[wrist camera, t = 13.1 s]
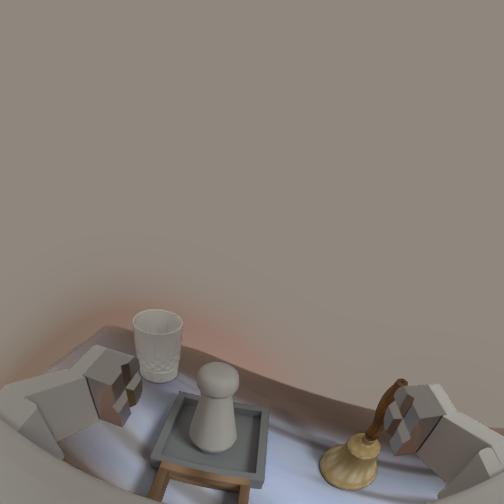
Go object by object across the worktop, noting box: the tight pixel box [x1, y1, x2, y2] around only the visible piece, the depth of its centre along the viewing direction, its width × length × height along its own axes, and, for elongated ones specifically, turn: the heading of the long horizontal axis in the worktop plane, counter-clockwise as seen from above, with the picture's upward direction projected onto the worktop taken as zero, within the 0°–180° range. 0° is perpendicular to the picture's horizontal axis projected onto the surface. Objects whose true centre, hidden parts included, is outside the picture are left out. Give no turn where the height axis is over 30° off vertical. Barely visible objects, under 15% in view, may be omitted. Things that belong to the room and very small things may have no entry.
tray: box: [150, 391, 269, 489], centre depth 30 cm, size 13×13×2 cm
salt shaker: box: [189, 362, 239, 455], centre depth 28 cm, size 6×6×13 cm
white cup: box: [132, 309, 183, 383], centre depth 42 cm, size 8×8×10 cm
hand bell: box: [320, 379, 408, 490], centre depth 25 cm, size 8×8×16 cm
